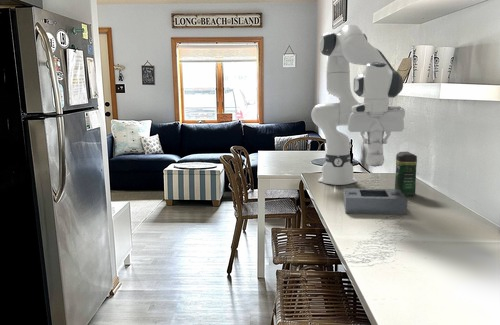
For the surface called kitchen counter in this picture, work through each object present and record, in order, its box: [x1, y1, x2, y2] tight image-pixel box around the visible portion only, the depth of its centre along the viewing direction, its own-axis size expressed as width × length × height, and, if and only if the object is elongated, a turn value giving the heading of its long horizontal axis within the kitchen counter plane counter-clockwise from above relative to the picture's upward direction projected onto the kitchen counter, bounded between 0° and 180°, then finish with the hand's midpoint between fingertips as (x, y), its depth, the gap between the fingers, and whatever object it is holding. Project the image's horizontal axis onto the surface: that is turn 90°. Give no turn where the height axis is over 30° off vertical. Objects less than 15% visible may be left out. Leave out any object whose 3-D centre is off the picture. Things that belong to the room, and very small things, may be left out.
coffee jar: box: [394, 151, 418, 197], centre depth 183 cm, size 10×8×19 cm
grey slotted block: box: [342, 187, 408, 216], centre depth 164 cm, size 15×22×6 cm
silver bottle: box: [365, 116, 385, 168], centre depth 160 cm, size 6×7×20 cm
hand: (375, 143), depth 160 cm, fingers closed on silver bottle, 6 cm apart
